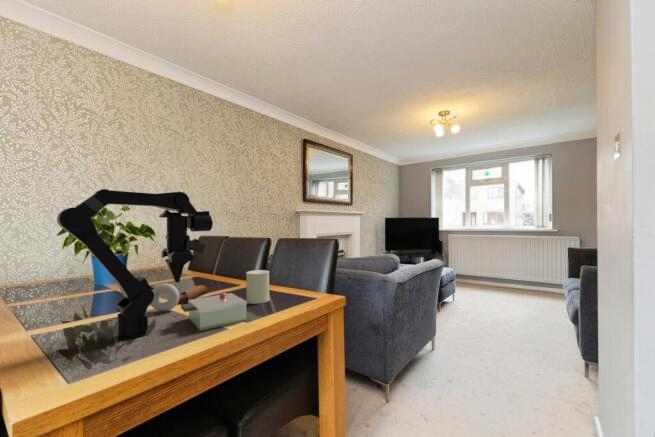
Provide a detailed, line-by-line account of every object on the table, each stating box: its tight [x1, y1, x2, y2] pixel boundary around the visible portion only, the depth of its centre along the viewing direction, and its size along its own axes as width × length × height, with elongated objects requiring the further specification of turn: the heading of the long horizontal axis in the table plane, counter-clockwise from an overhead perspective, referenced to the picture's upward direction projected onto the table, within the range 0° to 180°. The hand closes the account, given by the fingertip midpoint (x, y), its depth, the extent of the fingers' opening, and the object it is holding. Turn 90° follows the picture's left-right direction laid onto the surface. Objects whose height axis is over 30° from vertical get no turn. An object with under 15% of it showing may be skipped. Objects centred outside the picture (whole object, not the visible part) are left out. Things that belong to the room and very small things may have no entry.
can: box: [245, 269, 270, 305], centre depth 117 cm, size 9×9×12 cm
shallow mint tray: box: [188, 305, 247, 332], centre depth 94 cm, size 14×14×5 cm
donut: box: [150, 282, 180, 312], centre depth 103 cm, size 10×3×10 cm, turn 97°
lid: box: [180, 292, 248, 314], centre depth 93 cm, size 17×14×2 cm
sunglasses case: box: [177, 284, 208, 305], centre depth 122 cm, size 18×7×7 cm, turn 1°
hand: (177, 282), depth 91 cm, fingers closed
